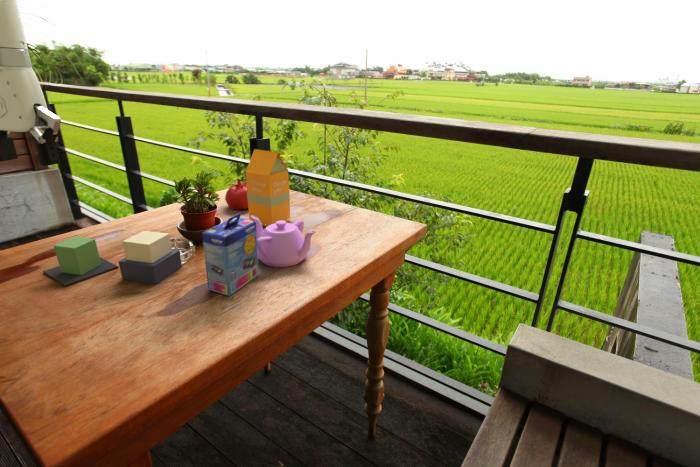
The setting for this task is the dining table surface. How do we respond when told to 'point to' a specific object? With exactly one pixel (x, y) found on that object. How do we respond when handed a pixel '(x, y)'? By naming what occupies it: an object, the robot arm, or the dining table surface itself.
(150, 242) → the cream block
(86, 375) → the dining table surface
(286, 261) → the teapot
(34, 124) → the robot arm
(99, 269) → the mat
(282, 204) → the orange juice
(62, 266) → the green block
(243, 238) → the ink cartridge box
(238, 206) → the pomegranate
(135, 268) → the navy block
